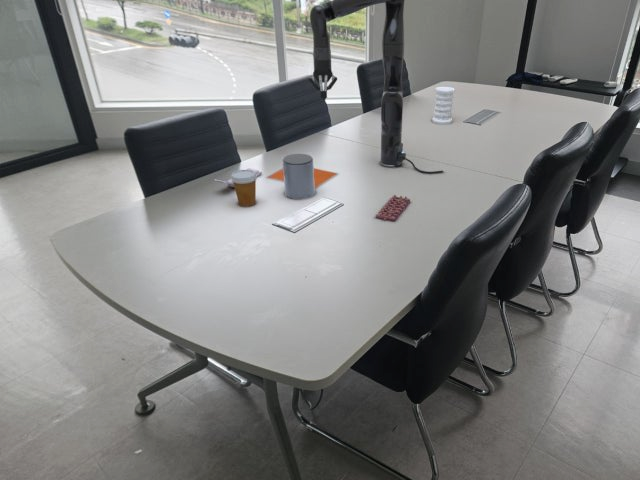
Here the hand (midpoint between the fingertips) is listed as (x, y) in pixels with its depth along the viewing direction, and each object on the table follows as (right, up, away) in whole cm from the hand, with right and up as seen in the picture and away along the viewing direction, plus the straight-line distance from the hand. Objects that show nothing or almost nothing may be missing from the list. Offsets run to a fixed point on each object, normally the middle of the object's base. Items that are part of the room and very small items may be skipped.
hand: (323, 99), depth 226 cm
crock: (-8, -45, -20) cm, 50 cm away
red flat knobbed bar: (+30, -54, -32) cm, 69 cm away
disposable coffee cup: (-27, -51, -28) cm, 64 cm away
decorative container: (+62, +11, +68) cm, 93 cm away
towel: (-9, -35, -4) cm, 36 cm away
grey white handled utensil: (-34, -40, -12) cm, 54 cm away
